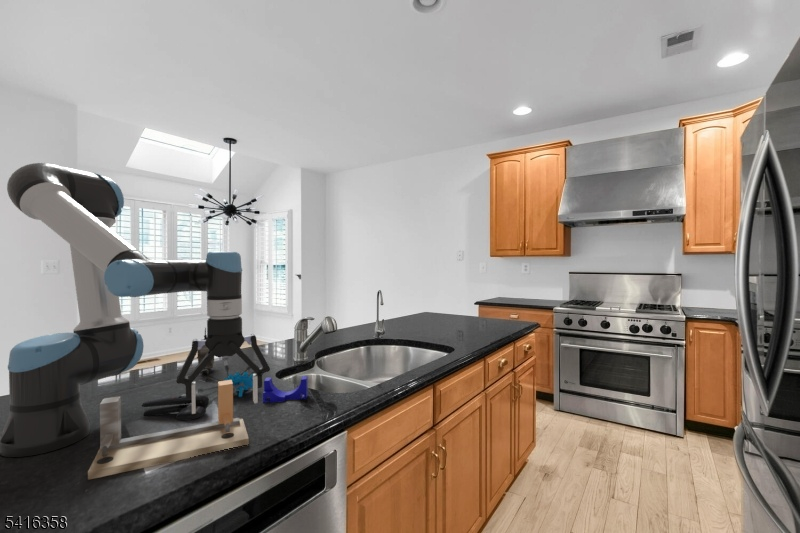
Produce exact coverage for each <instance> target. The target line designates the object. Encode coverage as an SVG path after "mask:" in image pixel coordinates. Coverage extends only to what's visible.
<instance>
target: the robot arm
mask: <svg viewBox="0 0 800 533" xmlns="http://www.w3.org/2000/svg"><path fill="white" fill-rule="evenodd" d="M6 190H7V195H8V197H9V199H10V201H11V202H12V203H13V205H14V206H15V207H16V208H17V209H18V210H19V211H20V212H22V213H23V214H24V215H25V216H26V217H28V218H31V219H33V220H37V221H41V222H42V223H43V224H44V225H46V227H48V228H49V229H51V231H53V232H54V233H55V234H57V235H58V236H59V237H61V238H62V239H63V240H64V241H65V242H67V243H68V244H69V247H70V255H71V262H72V270H73V277H74V287H75V293H76V299H77V300H76V301H77V307H78V309H77V310H78V315H79V317H78V318H79V323H78V324H77V325H76V326H75V327H74V328H73V330H72V332H58V333H53V334H45V335H40V336H37V337H33V338H29V339H27V340H24V341H21V342H19V343H16V345H14V347H12V348H11V349H10V350H9V358H8V365H7V370H8V381H9V382H8V387H9V390H8V392H9V414H8V417H7V420H6V423H5V425H4V428H3V431H2V433H1V436H0V456H2V457H6V458H20V457H21V458H22V457H30V456H35V455H41V454H45V453H49V452H54V451H56V450H59V449H62V448H65V447H69V446H70V445H73V444H75V443H77V442H79V441H81V440H83V439H84V438H86V437H87V436H88V435H89V434H90V433H91V422H90V419H89V416H88V415H87V412H86V411H85V409H84V407H83V404H82V401H81V386H82V385H85V384H89V383H92V382H95V381H99V380H103V379H106V378H108V377H114V376H119V375H120V374H122V373H125V372H127V371H130V370H132V369H133V368H135V367H136V365H137V364H138V363H139V361H140V360H141V358H142V356H143V353H144V340H143V337H142V335H141V334H140V333H139V331H138V330H137V329H135V328H133V327H131V325H130V320H128V319H127V318H125V317H123V315H122V310H121V303H120V302H121V301H120V297H121V298H125V297H127V298H128V297H131V298H139V297H145V296H152V295H160V294H161V295H162V294H173V293H182V292H183V293H184V292H185V293H186V292H206V316H207V317H209V318H208V319H207V320H206V335H207V338H206V340H202V339H197V338H194V339H193V340H191V349H190V351H189V353H188V354H187V357H186V359H185V361H184V362H183V365H182V367H181V369H180V370H179V372H178V375H177V378H176V384H179V385H181V384H183V385H184V386H185V395H186V398H187V399H191V398H192V403H191V404H192V414H195V413H196V399H195V395H196V381H195V380H196V379H197V378H198V376H199V375H200V374H201V373H202V372H203V369H204V368H205V366H206V365H207V364H208V363H209V362H210V361H211V360H212V358H213V357H214V358H215V357H217V358H223V357H233V356H234V355H237V356H238V358H240V359H241V360H242V361H243V362H244V363H246V365H247V366H248V367H249V368H250V369H251V370H252V371H253V372H254V373H252V374H253V378H252V379H253V388H252V401H253V404H258V402H259V401H258V399H259V397H258V391H259V390H258V389H262V387H263V375H264V374H266V373H268V372H270V370H271V368H270V365H269V363H268V362H267V360H266V359H265V357H264V354H263V353H262V351H261V349H260V347H259V346H258V342H257V341H258V340H257V337H256V335H255V334H254V333H251V334H250V335H246V336H244V335H243V318H242V316H241V315H242V314H243V308H242V307H243V304H242V303H243V300H242V282H243V281H242V280H243V279H242V278H243V277H242V276H243V275H242V274H243V268H242V257H241V256H242V255H241V254H240V253H239V252H236V251H209V252H207V253H206V258H205V259H203V260H201V259H200V260H199V259H197V260H196V259H151V258H149V257H147V255H145V254H143V253H142V252H141V251H140V250H138V249H137V248H136V247H134V246H133V245H132V244H130V243H129V242H128V241H126V240H125V239H124V238H123V237H121V235H119V234H118V233H117V232H115V231H114V230H113V229H111V227H112V226H113V225H115V224H116V221H117V220H116V218H117V217H118V216H119V215H121V213H122V211H123V210H122V209H123V208H124V205H125V200H124V199H125V198H124V194H123V191H122V189H121V187H120V186H119V185H118V183H117V182H116V181H114V180H113V179H111V178H110V177H107V176H104V175H101V174H99V173H96V172H91V171H85V170H81V169H75V168H70V167H66V166H61V165H58V164H53V163H45V162H36V163H30V164H26V165H23V166H21V167H19V168H18V169H15V171H13V173H12V174H11V175H10V177H9V178H8V180H7V186H6ZM245 342H246V343H247V344H248V345H249V346H251V347H252V350H253V352H254V353H255V356H256V357H257V359H258V360H259V363H260V365H261V367H259V366H258V365H257V364H256V362H254V360H252V359H251V358H250V356H248V355H247V353H245V351H243V349H242V348H241V347H242V345H244V343H245ZM203 345H206V347H207V348H208V349H209V351H208V353H207V354H206V355H205V357H204V358H203V359H202V360H201V362H200V363H199V364H198V363H197V365H196V367H194V369H193V370H192V371H191V372H190V374H188V376H186V375H187V373H188V371H189V369H190V367H191V365H192V363H193V361H194V360H195V357H197V356H196V355H197V354H198V351H197V350H200V349H201V348H202V346H203ZM204 370H205V369H204Z"/></svg>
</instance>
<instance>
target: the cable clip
mask: <svg viewBox="0 0 800 533" xmlns="http://www.w3.org/2000/svg"><path fill="white" fill-rule="evenodd" d="M308 392H309V391H308V375H305V376H303V375H302V377H301V378H300V384H299V385H298V386H297V387H296V388H295V389H293V390H290V391H284V390H283V391H282V390H280V389H279V388H277V387H276V386H275V385H274V382H273V378H272V377H266V378H265V379H264V380H263V392H262V403H282V402H286V401H287V400H307V398H308V395H309V394H308Z"/></svg>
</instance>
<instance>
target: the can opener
mask: <svg viewBox="0 0 800 533" xmlns="http://www.w3.org/2000/svg"><path fill="white" fill-rule="evenodd" d="M195 399H196V413H195V414H192V398H191V399H187V398H186V393H185V394H182V395H177V396H176V395H175V396H167V397H161V398H155V399H151V400H146V401H144V402H143V403H142V404H141V407H142V408H148V409H146V410H144V412H143V415H144V416H162V415H167V414H174V413H176V414H177V415H176V419H178V420H180V421H181V420H182V421H192V420H195V419H199V418H200V417H202V416H203V415H204V414H206V412H207V408H208V406H209V403H210V401H209V400H210V398H209V397H208V395H204V394H199V393H198V394H195ZM152 407H155V408H152Z"/></svg>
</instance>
